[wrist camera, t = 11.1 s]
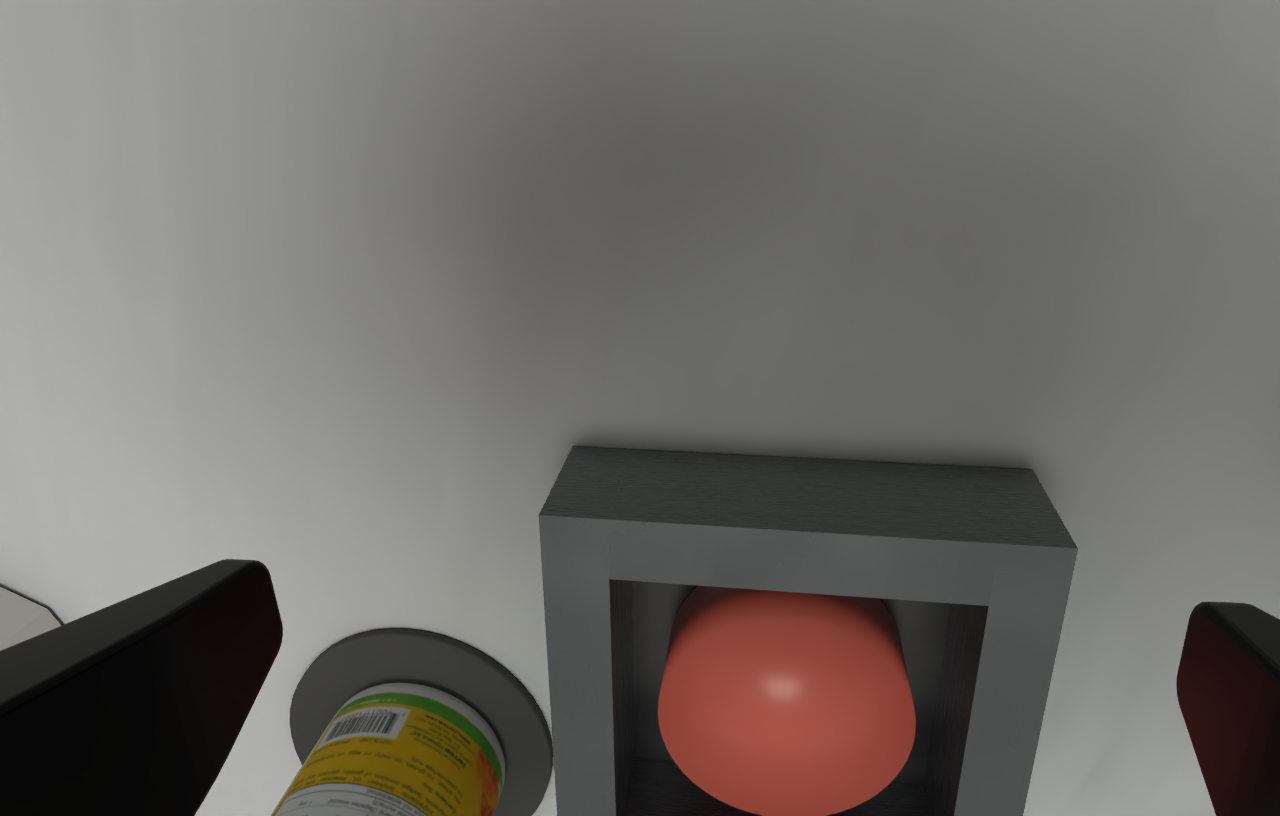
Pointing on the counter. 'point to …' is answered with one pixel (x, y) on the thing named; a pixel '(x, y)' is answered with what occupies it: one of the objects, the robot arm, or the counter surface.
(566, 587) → the grey square tray
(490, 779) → the supplement bottle
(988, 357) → the counter surface
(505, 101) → the counter surface
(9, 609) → the toilet paper
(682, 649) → the button
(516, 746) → the coaster
